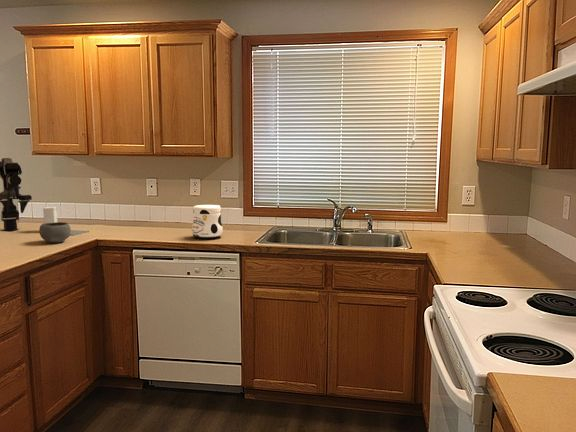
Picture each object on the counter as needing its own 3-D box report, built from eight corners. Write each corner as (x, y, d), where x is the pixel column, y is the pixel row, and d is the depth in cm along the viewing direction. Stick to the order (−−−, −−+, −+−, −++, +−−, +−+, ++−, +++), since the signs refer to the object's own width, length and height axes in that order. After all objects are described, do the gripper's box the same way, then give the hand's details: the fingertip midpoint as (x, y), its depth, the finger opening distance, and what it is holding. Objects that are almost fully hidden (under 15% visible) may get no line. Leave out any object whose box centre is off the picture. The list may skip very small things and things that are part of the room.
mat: (49, 234, 286) (49, 233, 286) (65, 230, 300) (65, 229, 300) (74, 235, 283) (74, 234, 283) (89, 231, 296) (89, 230, 296)
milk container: (187, 239, 275) (187, 207, 273) (197, 234, 292) (197, 204, 290) (217, 240, 273) (217, 208, 270) (226, 235, 290) (225, 204, 287)
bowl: (62, 238, 273) (61, 220, 272) (76, 242, 264) (75, 223, 262) (34, 242, 262) (33, 223, 260) (48, 246, 252) (47, 226, 251)
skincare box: (55, 232, 291) (54, 207, 289) (44, 233, 289) (42, 207, 287) (58, 230, 299) (57, 206, 297) (47, 230, 297) (46, 206, 295)
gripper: (-13, 185, 270) (-11, 214, 272) (17, 186, 267) (19, 214, 268) (2, 184, 281) (4, 212, 283) (31, 184, 278) (33, 212, 279)
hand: (14, 212), depth 278 cm, fingers open, 9 cm apart
